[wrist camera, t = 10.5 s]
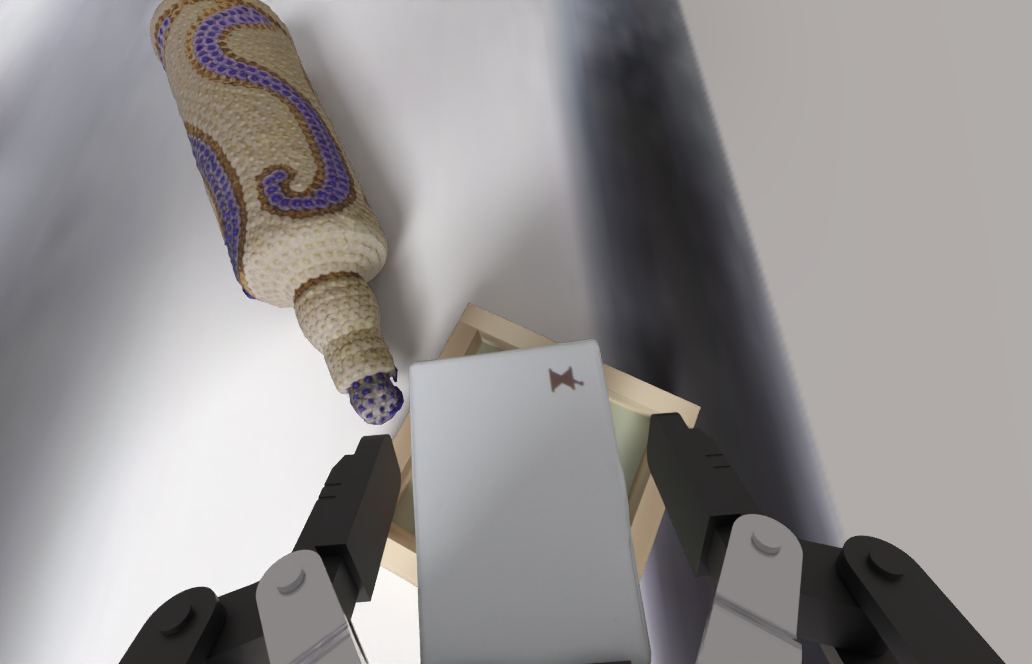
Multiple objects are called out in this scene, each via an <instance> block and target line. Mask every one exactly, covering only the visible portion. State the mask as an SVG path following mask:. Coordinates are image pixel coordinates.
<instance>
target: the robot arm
mask: <svg viewBox="0 0 1032 664" xmlns="http://www.w3.org/2000/svg"><path fill="white" fill-rule="evenodd" d="M647 462H648V466H649V470H650V473H651V475H652V477H653V480H654V482H655V484H656V487H657V489H658V491H659V493H660V496H661V498H662V500H663V503H664V505H665V507H666V510H667V512H668V514H669V517H670V519H671V521H672V524H673V526H674V528H675V531H676V533H677V535H678V538H679V540H680V542H681V545H682V547H683V549H684V552H685V554H686V556H687V559H688V561H689V563H690V565H691V568H692V570H693V572H694V575H695V577H699V576H710V577H711V579H712V582H713V584H714V586H715V591H714V594H713V598H712V602H711V606H710V610H709V614H708V618H707V622H706V626H705V630H704V634H703V637H702V641H701V645H700V649H699V653H698V657H697V661H696V664H801V660H802V647H801V643H800V641H798V640H797V638H796V637H800V638H803V639H807V640H811V641H814V642H818V643H819V645H820V646H821V648H822V650H823V652H824V654H825V655H826V657H827V659H828V661H829V662H830V664H1005V663H1004V662H1003V661H1002V659H1001V658H1000V657H999V656H998V655H997V653H996V652H995V651H994V650H993V649H992V648H991V647H990V645H989V644H988V643H987V642H986V641H985V640H984V639H983V638H982V636H981V635H980V634H979V633H978V632H977V631H976V630H975V629H974V627H973V626H972V625H971V624H970V623H969V622H968V620H967V619H966V618H965V617H964V616H963V615H962V614H961V612H960V611H959V610H958V609H957V608H956V607H955V606H954V605H953V603H952V602H951V601H950V600H949V599H948V598H947V597H946V595H945V594H944V593H943V592H942V591H941V590H940V589H939V588H938V586H937V585H936V584H935V583H934V582H933V581H932V580H931V578H930V577H929V576H928V575H927V574H926V573H925V572H924V570H923V569H922V568H921V567H920V566H919V565H918V564H917V563H916V562H915V561H914V560H913V559H912V558H911V557H910V556H909V555H907V554H906V553H905V552H903V551H902V550H901V549H899V548H897V547H896V546H894V545H892V544H890V543H888V542H886V541H883V540H881V539H877V538H874V537H869V536H855V537H851V538H850V539H848V540H847V541H846V542H845V544H844V546H843V548H838V547H833V546H829V545H824V544H819V543H814V542H809V541H805V540H802V539H799V538H796V537H795V536H794V534H793V533H792V532H791V531H790V530H789V529H788V528H786V527H785V526H784V525H782V524H781V523H779V522H778V521H776V520H774V519H772V518H769V517H766V516H765V515H764V514H763V513H762V511H761V510H760V508H759V507H758V505H757V504H756V502H755V501H754V499H753V498H752V496H751V495H750V493H749V492H748V490H747V489H746V487H745V486H744V484H743V483H742V481H741V480H740V478H739V477H738V475H737V474H736V472H735V471H734V469H733V468H731V465H730V464H729V462H728V461H727V459H726V458H725V457H724V456H723V453H722V452H721V450H720V449H719V447H718V446H717V444H716V443H715V441H714V440H713V439H712V438H711V437H709V436H708V435H707V434H706V433H704V432H703V431H702V430H700V429H699V428H690V429H689V428H688V426H687V425H686V423H685V421H684V420H683V418H682V417H681V415H680V414H679V413H678V412H671V413H658V414H652V415H651V418H650V425H649V434H648V443H647ZM400 488H401V471H400V467H399V464H398V460H397V457H396V453H395V450H394V446H393V443H392V439H391V437H390V435H388V434H385V435H372V436H363V437H362V438H361V440H360V442H359V444H358V447H357V449H356V451H355V454H353V455H345V456H344V457H343V458H342V459H341V460H340V461H339V462H338V463H337V464H336V465H335V466H334V467H333V468H332V470H331V472H330V474H329V476H328V478H327V480H326V482H325V487H323V489H322V491H321V493H320V495H319V497H318V498H319V499H318V500H317V501H316V503H315V505H314V507H313V510H312V512H311V514H310V516H309V518H308V520H307V522H306V524H305V526H304V528H303V530H302V532H301V535H300V537H299V539H298V541H297V543H296V545H295V547H294V549H293V551H292V553H290V554H288V555H286V556H284V557H282V558H281V559H279V560H278V561H277V562H275V563H274V564H273V565H272V566H271V567H270V568H269V569H268V570H267V571H266V573H265V574H264V575H263V577H262V578H261V580H260V581H258V582H256V583H254V584H251V585H249V586H246V587H243V588H241V589H238V590H236V591H233V592H230V593H228V594H225V595H222V596H220V597H217V596H216V594H215V593H214V592H213V591H212V590H211V589H210V588H207V587H195V588H191V589H188V590H185V591H183V592H181V593H179V594H177V595H175V596H174V597H172V598H171V599H169V600H168V601H166V602H165V603H164V604H163V605H161V606H160V607H159V608H158V609H157V610H156V611H155V612H154V613H153V614H152V615H151V616H150V617H149V619H148V620H147V621H146V623H145V624H144V625H143V627H142V629H141V630H140V632H139V633H138V635H137V636H136V638H135V639H134V641H133V642H132V644H131V645H130V647H129V648H128V650H127V652H126V653H125V655H124V656H123V658H122V659H121V661H120V662H119V664H369V662H368V659H367V657H366V654H365V652H364V649H363V647H362V645H361V642H360V640H359V637H358V635H357V633H356V630H355V628H354V625H353V623H352V621H351V617H352V614H353V610H354V607H355V603H356V602H367V601H371V597H372V594H373V590H374V586H375V582H376V579H377V575H378V571H379V567H380V564H381V560H382V556H383V553H384V549H385V545H386V541H387V538H388V534H389V530H390V526H391V523H392V519H393V515H394V511H395V508H396V504H397V500H398V496H399V493H400ZM591 664H631V660H629V661H616V662H604V663H591Z"/></svg>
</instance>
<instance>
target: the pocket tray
mask: <svg viewBox="0 0 1032 664" xmlns="http://www.w3.org/2000/svg"><path fill="white" fill-rule="evenodd" d="M551 344H558V343H557V342H555V341H553V340H551V339H548V338H546V337H544V336H542V335H540V334H537V333H535V332H533V331H531V330H528V329H526V328H524V327H522V326H520V325H517V324H515V323H513V322H511V321H509V320H506V319H504V318H502V317H500V316H497V315H495V314H493V313H491V312H489V311H486V310H484V309H482V308H480V307H478V306H475V305H473V304H471V303H468V305H467V307H466V309H465V311H464V313H463V314H462V316H461V318H460V320H459V322H458V323H457V325H456V327H455V329H454V331H453V333H452V334H451V336H450V338H449V340H448V342H447V344H446V345H445V347H444V349H443V351H442V353H441V354H440V356H439V358H438V359H443V358H451V357H459V356H467V355H475V354H483V353H490V352H498V351H506V350H513V349H521V348H528V347H536V346H544V345H551ZM602 364H603V369H604V374H605V380H606V385H607V391H608V396H609V402H610V407H611V413H612V419H613V424H614V430H615V435H616V441H617V447H618V452H619V457H620V461H621V464H622V468H623V472H624V478H625V483H626V490H627V497H628V505H629V519H630V527H631V534H632V541H633V548H634V554H635V560H636V566H637V572H638V578H639V582H640V579H641V576H642V574H643V571H644V568H645V565H646V562H647V559H648V556H649V553H650V551H651V548H652V545H653V542H654V539H655V536H656V533H657V530H658V528H659V525H660V522H661V519H662V516H663V513H664V510H665V508H666V507H665V505H664V503H663V500H662V498H661V496H660V493H659V491H658V489H657V487H656V484H655V482H654V480H653V477H652V475H651V473H650V470H649V466H648V462H647V443H648V434H649V425H650V418H651V415H652V414H658V413H671V412H678V413H679V414H680V415H681V417H682V418H683V420H684V421H685V423H686V425H687V426H688V428H689V429H690V428H693V427H694V424H695V421H696V418H697V416H698V413H699V410H700V407H699V406H697V405H695V404H693V403H690V402H688V401H686V400H684V399H681V398H679V397H677V396H675V395H673V394H670V393H668V392H666V391H664V390H662V389H659V388H657V387H655V386H653V385H650V384H648V383H646V382H644V381H642V380H639V379H637V378H635V377H633V376H630V375H628V374H626V373H624V372H622V371H619V370H617V369H615V368H613V367H611V366H608V365H606V364H604V363H602ZM392 443H393V446H394V450H395V453H396V457H397V460H398V464H399V467H400V471H401V488H400V493H399V496H398V500H397V504H396V508H395V511H394V515H393V519H392V523H391V526H390V530H389V534H388V538H387V541H386V545H385V549H384V553H383V556H382V560H381V564H380V566H382V567H384V568H386V569H387V570H389V571H391V572H392V573H394V574H396V575H398V576H399V577H401V578H403V579H404V580H406V581H408V582H410V583H411V584H413V585H415V586H416V587H418V580H417V555H416V534H415V516H414V498H413V480H412V457H411V418H410V411H409V413H408V415H407V416H406V418H405V420H404V422H403V424H402V426H401V427H400V429H399V431H398V433H397V435H396V437H395V438H394V440H393V442H392Z"/></svg>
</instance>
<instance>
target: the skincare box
mask: <svg viewBox="0 0 1032 664" xmlns="http://www.w3.org/2000/svg"><path fill="white" fill-rule="evenodd" d="M409 379H410V418H411V457H412V480H413V498H414V516H415V534H416V555H417V580H418V608H419V629H420V657H421V664H591V663H604V662H616V661H629V660H631V664H651V649H650V643H649V637H648V631H647V625H646V619H645V613H644V608H643V602H642V596H641V591H640V585H639V578H638V572H637V566H636V560H635V554H634V548H633V541H632V534H631V527H630V519H629V505H628V497H627V490H626V483H625V478H624V472H623V468H622V464H621V461H620V457H619V452H618V447H617V441H616V435H615V430H614V424H613V419H612V413H611V407H610V402H609V396H608V391H607V385H606V380H605V374H604V369H603V364H602V358H601V353H600V348H599V344H598V342H597V341H596V340H595V339H586V340H579V341H572V342H565V343H558V344H551V345H544V346H536V347H528V348H521V349H513V350H506V351H498V352H490V353H483V354H475V355H467V356H459V357H451V358H443V359H435V360H427V361H420V362H414V363H412V364H411V365H410V368H409Z"/></svg>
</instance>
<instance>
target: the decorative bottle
mask: <svg viewBox="0 0 1032 664" xmlns="http://www.w3.org/2000/svg"><path fill="white" fill-rule="evenodd" d="M150 35H151V41H152V45H153V48H154V51H155V54H156V56H157V58H158V60H159V61H160V62H161V63H162V65H163V68H164V70H165V71H166V73H167V76H168V80H169V84H170V87H171V90H172V93H173V96H174V98H175V100H176V103H177V106H178V110H179V114H180V116H181V118H182V120H183V122H184V125H185V128H186V130H187V135H188V138H189V140H190V143H191V146H192V151H193V155H194V157H195V159H196V162H197V167H198V169H199V171H200V173H201V175H202V178H203V181H204V184H205V188H206V192H207V194H208V196H209V199H210V202H211V205H212V207H213V210H214V213H215V215H216V218H217V221H218V223H219V227H220V230H221V233H222V237H223V239H224V241H225V245H226V246H227V247H228V253H229V257H230V259H231V264H232V266H233V271H234V274H235V277H236V279H237V281H238V282H239V283H240V285H241V286H242V288H243V292H244V293H245V294H246V295H247V297H249V298H250V299H257V300H260V301H263V302H266V303H269V304H272V305H275V306H278V307H294V309H295V313H296V317H297V319H298V323H299V326H300V328H301V330H302V331H303V333H304V335H305V337H306V338H307V339H308V340H309V341H310V343H311V344H312V345H313V346H314V347H315V348H316V349H317V350H318V351H320V352H321V353H322V354H323V355H324V358H325V361H326V364H327V366H328V369H329V372H330V375H331V377H332V380H333V382H334V384H335V386H336V388H337V390H338V391H339V392H340V393H341V394H349V396H350V403H351V405H352V406H353V408H354V410H355V411H356V412H357V413H358V415H359V416H360V417H361V418H363V419H364V421H366V422H367V423H368V424H374V425H381V424H383V423H385V422H387V421H388V420H390V419H392V417H393V416H394V415H395V413H396V412H397V411H398V410H400V409H401V407H402V404H403V402H404V399H403V395H402V392H401V391H400V390H399V388H398V387H397V386H394V385H393V383H392V382H391V380H390V377H393V379H394V382H397V370H398V369H397V368H396V367H395V366H394V362H393V358H392V356H391V354H390V352H389V351H388V349H389V348H388V347H387V345H386V344H385V342H384V341H383V338H382V335H381V328H380V324H381V317H380V313H379V310H380V308H379V306H378V303H377V300H376V298H375V296H374V294H373V292H372V290H371V288H370V286H369V285H368V284H367V283H368V282H369V281H370V280H372V279H373V278H374V277H375V276H376V275H377V274H378V273H380V272H381V270H382V268H383V267H384V265H385V262H386V257H387V253H388V246H387V240H386V238H385V235H384V232H383V230H382V229H381V227H380V225H379V223H378V221H377V219H376V217H375V215H374V214H373V211H372V209H371V207H370V205H369V204H368V202H367V200H366V197H365V195H364V193H363V191H362V188H361V186H360V184H359V182H358V180H357V178H356V176H355V173H354V171H353V169H352V167H351V165H350V163H349V161H348V160H347V158H346V155H345V153H344V151H343V148H342V145H341V143H340V141H339V139H338V138H337V136H336V134H335V131H334V129H333V127H332V124H331V122H330V120H329V119H328V117H327V115H326V114H325V112H324V110H323V108H322V106H321V104H320V101H319V99H318V97H317V95H316V93H315V92H314V90H313V88H312V85H311V83H310V81H309V79H308V77H307V75H306V73H305V71H304V69H303V67H302V65H301V60H300V58H299V56H298V54H297V51H296V48H295V46H294V43H293V40H292V38H291V36H290V34H289V32H288V30H287V28H286V26H285V24H284V23H282V22H281V20H280V19H279V18H278V16H277V15H276V14H275V13H274V12H273V11H272V10H271V9H270V7H269V6H267V5H266V4H264V3H263V2H261V1H259V0H164V1H163V2H162V3H161V4H160V5H159V6H158V8H157V9H156V10H155V12H154V15H153V18H152V20H151V23H150Z"/></svg>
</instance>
